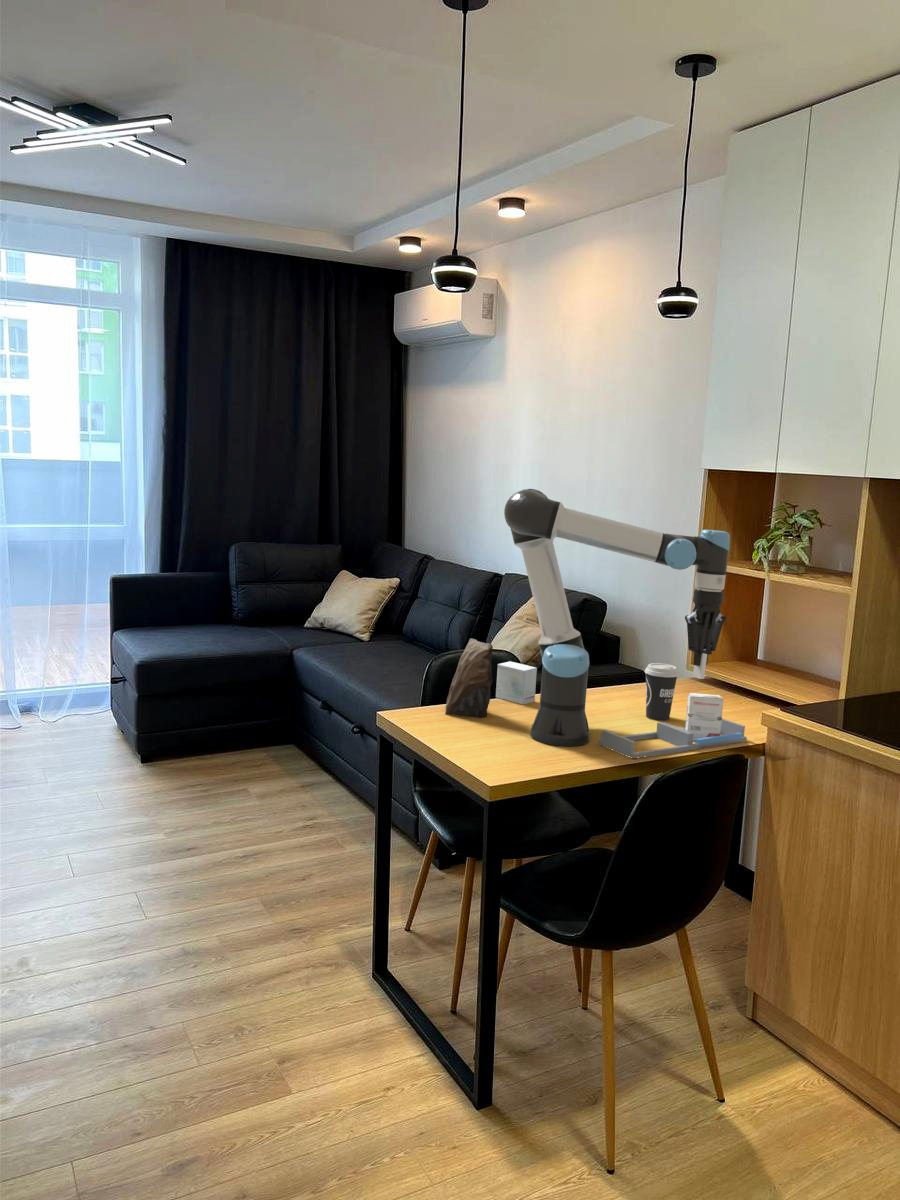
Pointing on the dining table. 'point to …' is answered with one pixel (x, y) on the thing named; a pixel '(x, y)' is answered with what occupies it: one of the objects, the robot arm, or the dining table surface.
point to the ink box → (704, 715)
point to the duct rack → (673, 739)
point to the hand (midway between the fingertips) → (698, 677)
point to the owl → (471, 682)
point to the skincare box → (516, 682)
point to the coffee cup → (660, 690)
